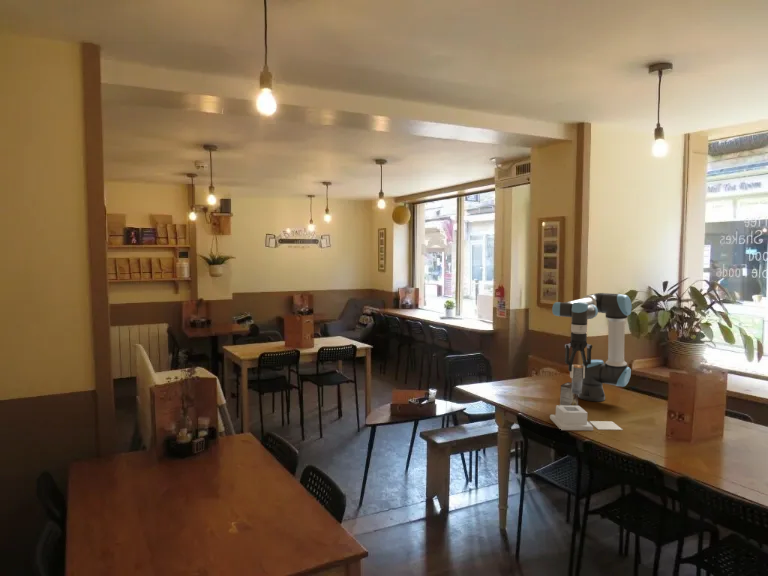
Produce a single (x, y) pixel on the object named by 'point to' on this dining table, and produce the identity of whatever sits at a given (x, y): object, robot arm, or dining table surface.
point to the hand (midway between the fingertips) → (577, 377)
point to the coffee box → (568, 395)
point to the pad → (605, 425)
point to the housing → (571, 418)
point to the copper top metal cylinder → (577, 379)
